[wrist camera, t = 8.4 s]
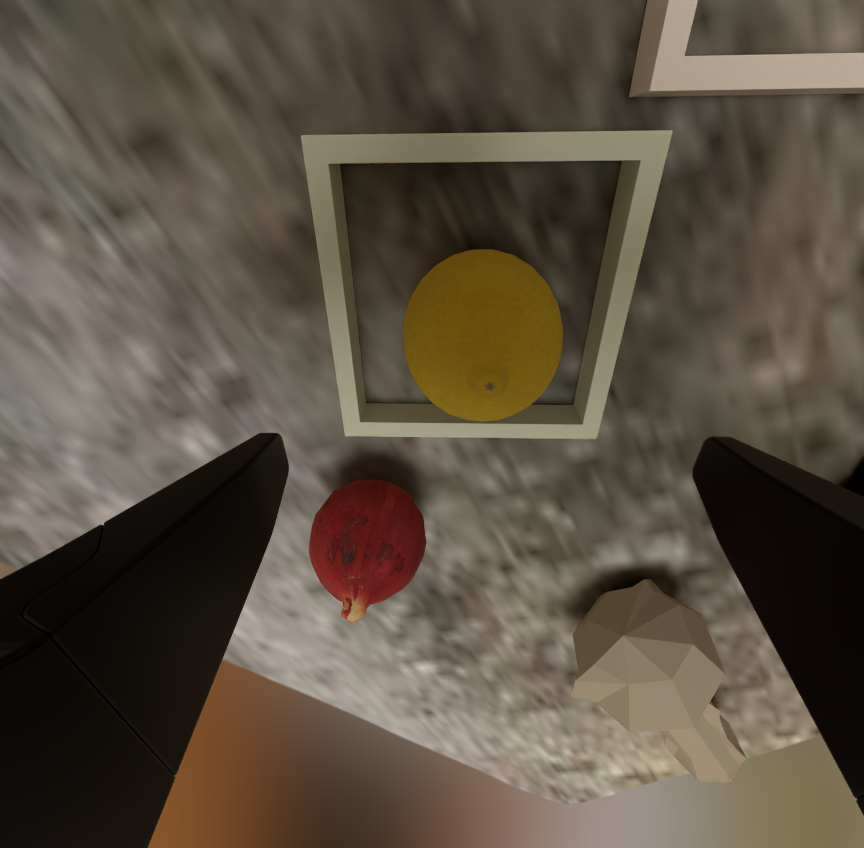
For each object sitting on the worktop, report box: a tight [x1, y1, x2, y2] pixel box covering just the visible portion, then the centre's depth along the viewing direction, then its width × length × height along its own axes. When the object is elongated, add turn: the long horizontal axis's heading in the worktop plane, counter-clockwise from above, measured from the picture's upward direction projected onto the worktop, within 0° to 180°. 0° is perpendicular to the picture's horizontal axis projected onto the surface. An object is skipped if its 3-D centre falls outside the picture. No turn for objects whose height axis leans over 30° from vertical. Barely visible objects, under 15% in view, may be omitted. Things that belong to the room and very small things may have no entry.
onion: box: [309, 479, 426, 623], centre depth 21 cm, size 6×6×8 cm
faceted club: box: [572, 579, 746, 782], centre depth 30 cm, size 9×9×25 cm
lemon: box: [403, 249, 563, 422], centre depth 15 cm, size 6×6×8 cm
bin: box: [301, 130, 673, 439], centre depth 18 cm, size 12×12×2 cm
